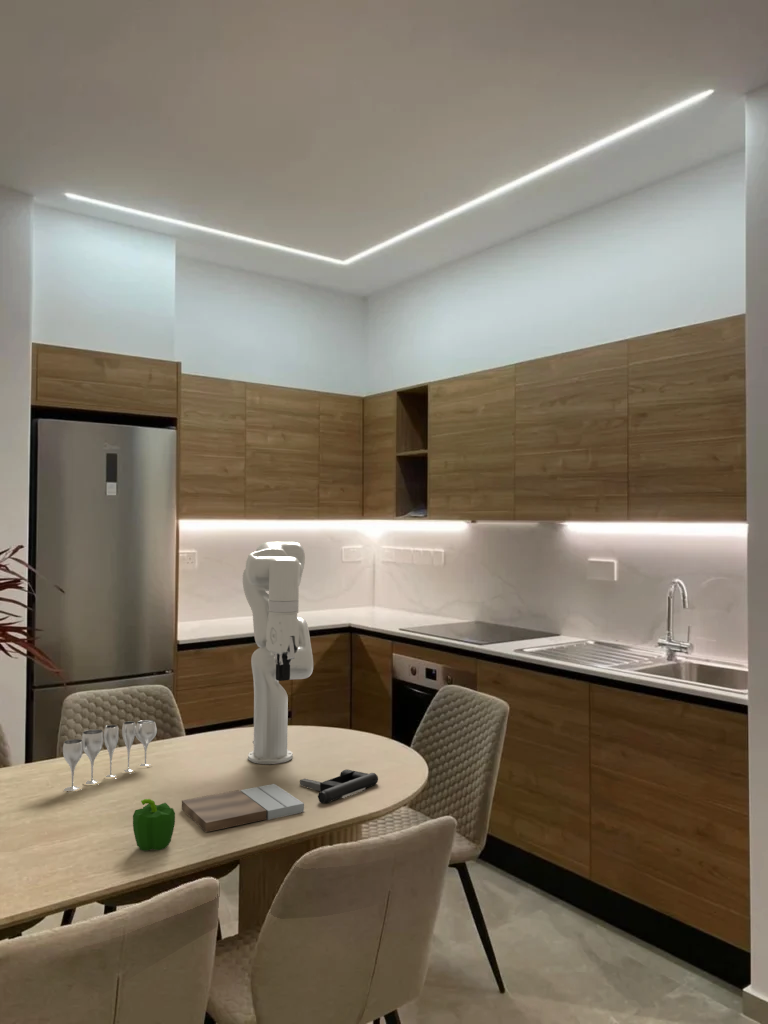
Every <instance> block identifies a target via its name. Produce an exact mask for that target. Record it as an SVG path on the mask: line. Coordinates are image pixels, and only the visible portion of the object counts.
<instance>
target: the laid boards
mask: <svg viewBox="0 0 768 1024" xmlns="http://www.w3.org/2000/svg"><path fill="white" fill-rule="evenodd" d="M239 791H241V792H242V793H243V794H245V795H246V796H247V797H249V798H250V799H252V800H253V801H254V802H256V803H257V804H258V805H260V806H261V807H262V808H264V809H265V810H266V819H265V820H267V821H268V820H269V821H270V820H274V819H279V818H283V817H286V816H288V817H289V816H292V815H297V814H301V812H302V813H304V812H305V803H304V802H302V801H301V800H300V799H298V798H296V797H295V796H294V795H292V794H291V793H289V792H288V791H286V790H285V789H283V788H282V787H280V786H278V785H277V784H276V783H272V784H266V785H260V786H255V787H250V788H244V789H240V790H239ZM278 817H279V818H278ZM273 818H274V819H273Z"/></svg>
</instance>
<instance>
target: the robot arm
mask: <svg viewBox="0 0 768 1024" xmlns="http://www.w3.org/2000/svg"><path fill="white" fill-rule="evenodd" d="M305 553H306V552H305V550H304V548H303V546H302V545H301V544H300V543H299V542H297V541H296V542H295V541H267V542H263V543H261V544H260V545H258V547H257V548H256V550H255V551H254V552H251V553H249V555H248V556H247V558H246V561H245V568H244V570H243V572H242V588H243V592H244V597H245V598H246V601H247V602H248V605H249V607H250V610H251V612H252V623H253V624H252V625H253V633H254V634H253V635H254V641H255V644H256V645H257V649H255V650H254V652H253V653H252V654H251V659H250V660H251V661H250V662H251V663H250V665H251V673H252V678H253V740H252V744H253V750H252V751H250V752H248V754H247V760H248V761H250V762H252V763H254V764H261V765H278V764H283V763H287V762H289V761H290V760H292V759H293V757H294V756H293V755H294V753H293V751H291V750H289V749H288V724H289V723H288V722H289V721H288V719H289V718H288V716H289V707H288V705H289V704H288V702H289V698H288V697H289V696H288V694H287V691H286V690H285V688H284V687H283V686H282V684H280V682H283V681H290V680H304V679H308V678H309V677H310V676H311V675H312V674H313V672H314V671H313V670H314V655H313V649H312V643H311V637H310V631H309V630H310V629H309V626H308V623H307V621H306V619H304V618H303V617H301V616H298V614H299V605H300V604H299V595H300V594H299V592H300V591H299V587H300V585H301V582H302V577H303V572H304V569H305V564H306V563H305V562H306V555H305Z"/></svg>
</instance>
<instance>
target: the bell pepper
mask: <svg viewBox="0 0 768 1024" xmlns="http://www.w3.org/2000/svg"><path fill="white" fill-rule="evenodd" d="M140 802H141V804H142V806H143V807H142V808H139V809H135V810H134V812H133V814H132V828H133V829H132V830H133V834H134V838H135V842H136V845H137V848H139V850H141V851H143V852H144V851H151V850H155V851H161V850H163V849H166V848H167V847H168V846H169V845H170V844H171V841H172V837H173V834H174V829H175V828H174V827H175V825H176V824H175V823H176V812H175V809H174V808H173V807H170V806H169V805H168V803H167V802H163V803H159V804H156V803H155V801H154V800H153V799H151V798H144V799H142V800H141V801H140ZM144 805H145V806H144Z"/></svg>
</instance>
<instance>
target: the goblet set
mask: <svg viewBox="0 0 768 1024" xmlns="http://www.w3.org/2000/svg"><path fill="white" fill-rule="evenodd" d="M157 729H158V728H157V724H156V722H155V720H153V719H143V720H139V721H137V723H136V722H135V721H133V720H132V721H130V720H129V721H124V722H123V723H122V729H121V735H122V739H123V742H124V744H125V746H126V751H127V768H125V769H126V770H125V769H123V770H124V771H125V772H132V771H133V770H132V769H133V768H130V756H131V755H130V754H131V748H132V745H133V743H134V740H135V738H136V739H137V740H138V741H139V742H140V743H141V744H142V746H143V749H144V763H145V764H143V763H140V764H141V765H140V766H149V765H151V764H146V763H147V752H148V746H149V744H150V743H151V742H152V741H153V739H155V737H156V735H157V733H158V730H157ZM119 735H120V733H119V726H118V725H117V724H108V725H105V726H104V729H103V730H102V729H88V730H84V731H83V732H82V735H81V739H80V738H74V739H72V738H71V739H68V740H65V741H63V745H62V755H63V758H64V760H65V762H66V763H67V764H68V766H69V769H70V772H71V787H70V786H67V788H66V787H64V788H65V789H64V788H63V789H64V791H75V790H77V789H79V788H80V787H81V786H80V787H77V786H78V785H74V780H75V779H74V778H75V777H74V775H75V770H76V766H77V764H78V763H79V762H80V760H81V759H82V756H83V753H84V754H85V755H86V756H87V758H88V759H89V762H90V767H91V768H90V769H91V770H90V775H91V776H90V778H91V779H90V780H91V781H89V780H86V781H87V782H86V784H95V783H97V782H98V781H96V780H97V779H94V763H95V760H96V759H97V757H98V755H99V753H100V752H101V751H102V748H103V745H105V748H106V749H107V752H108V756H109V774H106V775H107V776H106V775H105V776H106V777H115V776H116V775H117V774H114V775H112V765H113V764H112V763H113V755H114V751H115V749H116V747H117V744H118V742H119ZM64 791H63V792H64Z"/></svg>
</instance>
